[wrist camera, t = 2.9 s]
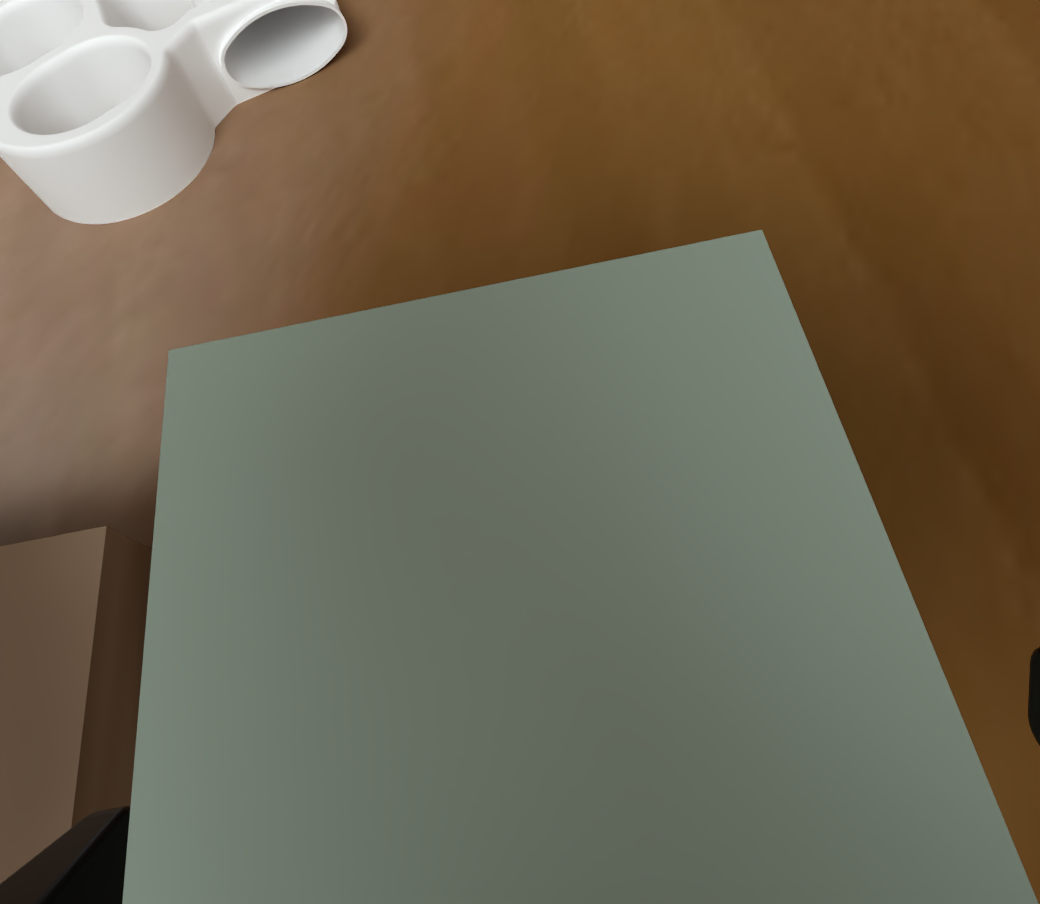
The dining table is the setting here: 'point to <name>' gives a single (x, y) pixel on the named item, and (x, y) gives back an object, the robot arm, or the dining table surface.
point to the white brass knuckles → (140, 90)
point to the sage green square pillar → (541, 615)
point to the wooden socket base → (67, 683)
